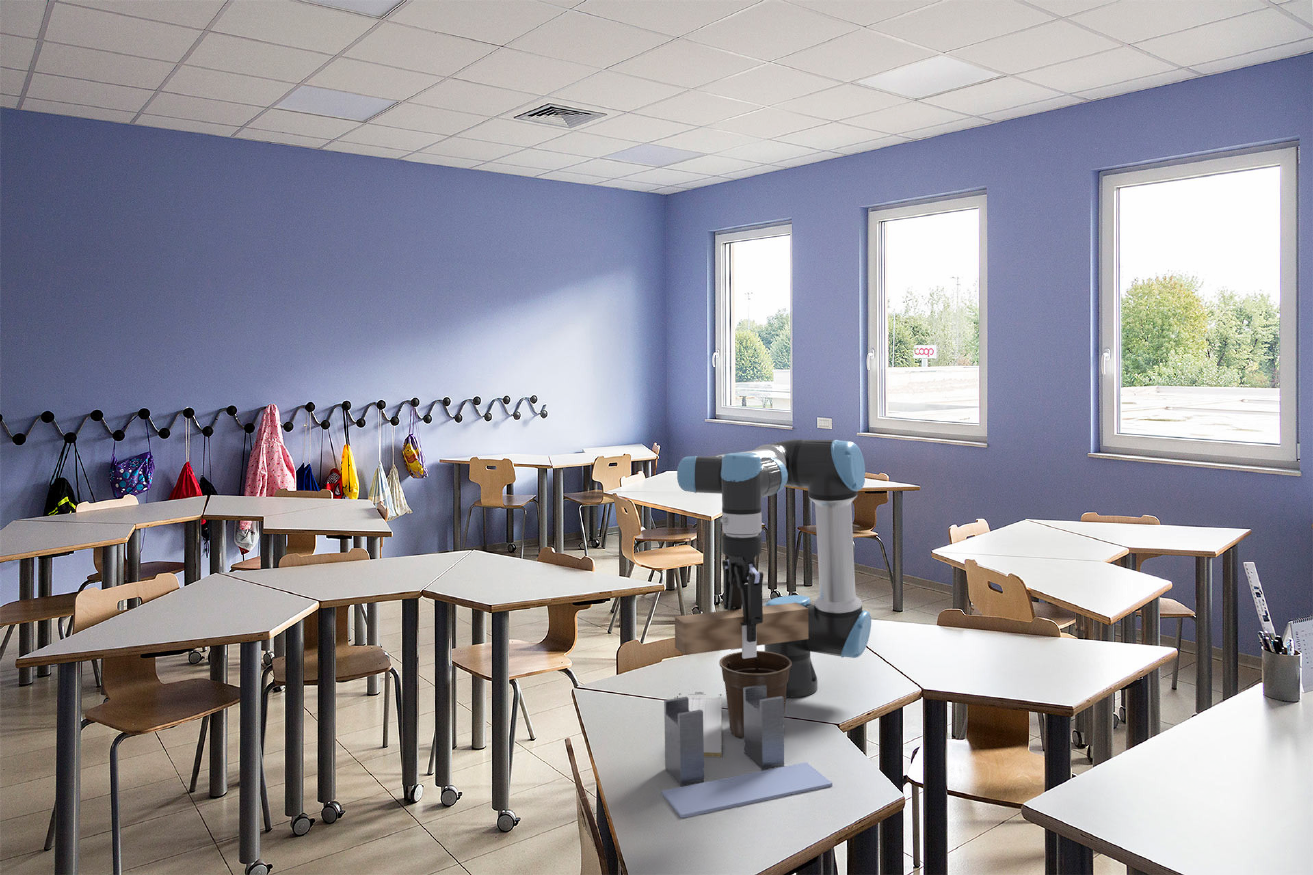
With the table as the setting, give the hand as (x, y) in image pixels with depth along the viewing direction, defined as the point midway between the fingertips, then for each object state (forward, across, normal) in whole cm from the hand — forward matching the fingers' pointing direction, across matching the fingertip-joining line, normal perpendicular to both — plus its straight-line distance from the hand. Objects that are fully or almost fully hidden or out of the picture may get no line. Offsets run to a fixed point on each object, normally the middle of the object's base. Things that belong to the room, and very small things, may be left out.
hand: (742, 652), depth 170 cm
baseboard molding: (+28, -31, +3) cm, 42 cm away
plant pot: (+27, -24, +14) cm, 39 cm away
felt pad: (+27, +1, 0) cm, 27 cm away
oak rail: (-2, 0, 0) cm, 2 cm away
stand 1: (+27, -10, -9) cm, 30 cm away
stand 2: (+27, -10, +9) cm, 30 cm away
